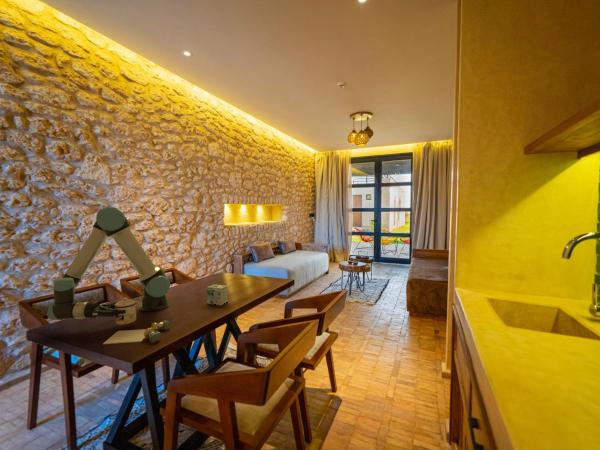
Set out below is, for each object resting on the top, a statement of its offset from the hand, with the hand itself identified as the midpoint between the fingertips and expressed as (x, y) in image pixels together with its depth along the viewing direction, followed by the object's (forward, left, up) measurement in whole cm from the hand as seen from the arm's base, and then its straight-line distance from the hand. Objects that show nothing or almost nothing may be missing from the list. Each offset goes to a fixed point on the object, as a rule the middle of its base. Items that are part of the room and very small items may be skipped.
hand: (137, 307), depth 138 cm
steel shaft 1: (+17, +13, -10) cm, 23 cm away
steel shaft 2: (+6, +13, -10) cm, 17 cm away
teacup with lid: (+1, -4, -7) cm, 8 cm away
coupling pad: (+12, +1, -10) cm, 15 cm away
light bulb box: (-32, +34, -10) cm, 48 cm away
